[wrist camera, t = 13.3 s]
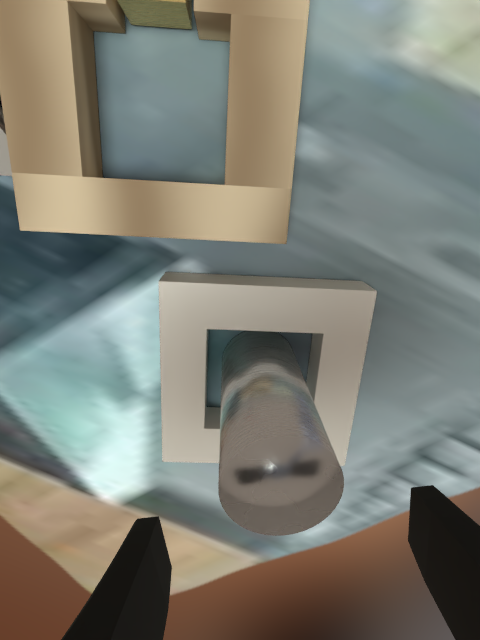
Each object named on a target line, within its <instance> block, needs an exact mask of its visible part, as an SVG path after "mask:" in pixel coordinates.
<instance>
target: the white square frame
mask: <svg viewBox="0 0 480 640" xmlns="http://www.w3.org/2000/svg"><path fill="white" fill-rule="evenodd" d="M376 295H377V291H376V290H375V289H373V288H372V287H370V286H369V285H367V284H366V283H364V282H363V281H350V280H329V279H308V278H286V277H265V276H243V275H222V274H201V273H179V272H165V274H164V275H163V276H162V278H161V279H160V280H159V319H160V365H161V412H162V458H163V462H199V463H219V452H220V415H221V408H219V407H206V402H207V365H208V329H220V330H246V331H271V332H296V333H313V335H312V342H311V350H310V358H309V365H308V373H307V381H306V384H307V387H308V389H309V392H310V394H311V396H312V399H313V401H314V404H315V406H316V409H317V411H318V413H319V416H320V418H321V421H322V423H323V426H324V428H325V430H326V433H327V435H328V438H329V440H330V443H331V445H332V447H333V450H334V452H335V455H336V457H337V460H338V462H339V464H340V466H345V460H346V455H347V450H348V444H349V439H350V434H351V428H352V423H353V418H354V412H355V407H356V402H357V396H358V391H359V386H360V380H361V375H362V370H363V364H364V359H365V354H366V348H367V343H368V338H369V332H370V327H371V321H372V316H373V311H374V305H375V300H376Z"/></svg>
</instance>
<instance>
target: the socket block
mask: <svg viewBox="0 0 480 640" xmlns="http://www.w3.org/2000/svg"><path fill="white" fill-rule="evenodd" d="M309 3H310V0H194V15H195V20H196V25H197V30H198V35H199V39H203V40H216V41H229V42H230V59H229V85H228V112H227V139H226V165H225V185H216V184H199V183H181V182H164V181H147V180H130V179H113V178H103V170H102V155H101V141H100V126H99V111H98V96H97V82H96V67H95V52H94V37H93V31H99V32H112V33H125V13H124V11H123V9H122V8H121V6H120V4H119V3H118V1H117V0H0V95H1V102H2V109H3V116H4V123H5V129H6V136H7V143H8V150H9V157H10V164H11V171H12V178H13V184H14V191H15V198H16V205H17V212H18V219H19V226H20V230H23V231H42V232H62V233H81V234H101V235H120V236H140V237H159V238H179V239H198V240H218V241H237V242H257V243H276V244H286V242H287V232H288V221H289V211H290V200H291V190H292V179H293V169H294V159H295V148H296V138H297V127H298V117H299V107H300V96H301V86H302V75H303V65H304V55H305V44H306V34H307V23H308V13H309Z"/></svg>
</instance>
